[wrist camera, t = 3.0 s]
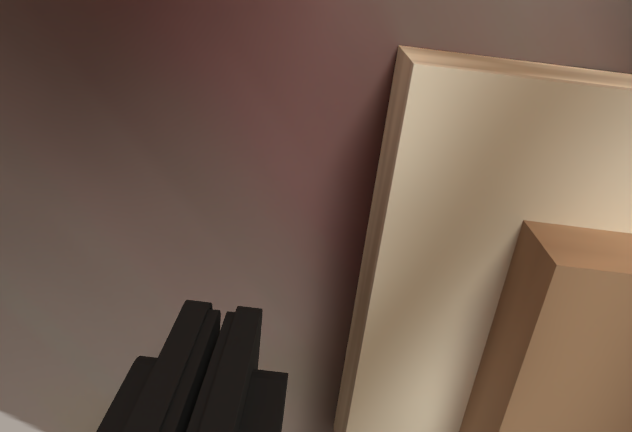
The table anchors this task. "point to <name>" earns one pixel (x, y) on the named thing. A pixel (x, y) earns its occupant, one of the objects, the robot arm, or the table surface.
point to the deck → (470, 218)
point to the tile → (559, 336)
